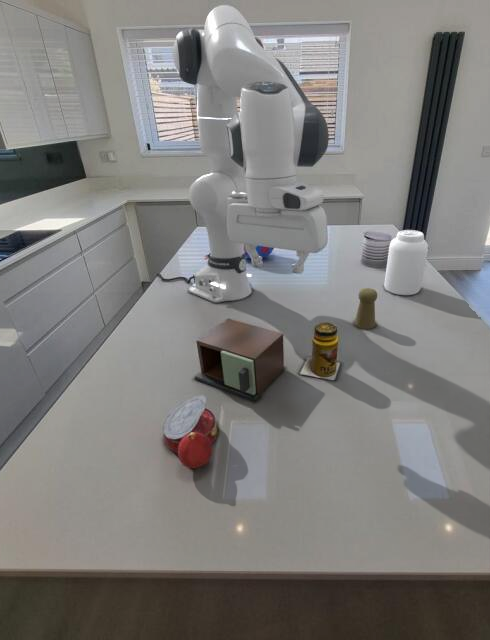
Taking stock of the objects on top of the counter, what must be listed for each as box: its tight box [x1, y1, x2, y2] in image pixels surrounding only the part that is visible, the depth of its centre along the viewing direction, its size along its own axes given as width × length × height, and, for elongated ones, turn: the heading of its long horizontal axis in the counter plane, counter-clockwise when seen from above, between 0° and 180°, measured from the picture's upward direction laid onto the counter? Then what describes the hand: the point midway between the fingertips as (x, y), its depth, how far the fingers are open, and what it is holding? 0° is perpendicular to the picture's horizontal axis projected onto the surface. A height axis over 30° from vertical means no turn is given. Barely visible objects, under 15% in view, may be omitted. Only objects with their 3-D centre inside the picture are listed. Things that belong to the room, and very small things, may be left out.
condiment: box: [299, 322, 341, 381], centre depth 88 cm, size 7×8×12 cm
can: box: [361, 230, 394, 268], centre depth 153 cm, size 11×11×12 cm
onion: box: [177, 432, 213, 469], centre depth 65 cm, size 6×6×8 cm
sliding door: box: [221, 351, 256, 395], centre depth 80 cm, size 8×3×9 cm, turn 61°
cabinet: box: [194, 318, 285, 402], centre depth 87 cm, size 17×14×10 cm
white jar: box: [383, 229, 429, 296], centre depth 127 cm, size 12×12×20 cm
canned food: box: [162, 394, 218, 454], centre depth 71 cm, size 11×10×10 cm
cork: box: [354, 287, 378, 330], centre depth 108 cm, size 6×6×11 cm
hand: (277, 269), depth 72 cm, fingers open, 8 cm apart
